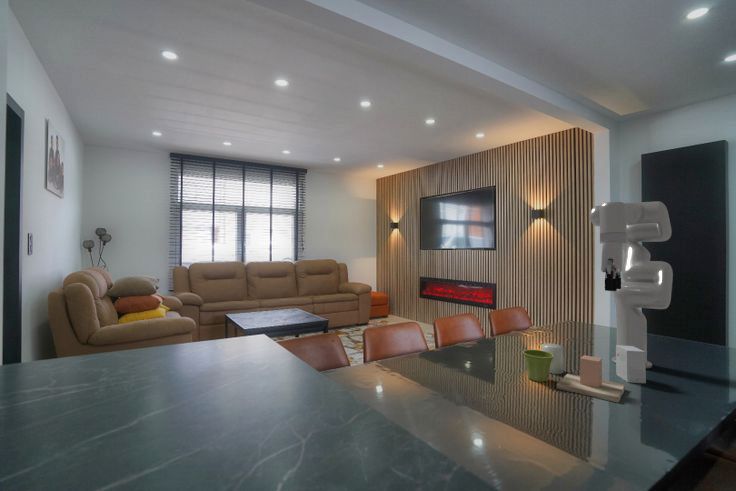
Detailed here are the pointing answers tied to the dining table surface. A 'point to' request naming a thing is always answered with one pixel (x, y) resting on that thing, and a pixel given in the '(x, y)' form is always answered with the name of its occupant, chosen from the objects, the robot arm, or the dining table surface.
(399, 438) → the dining table surface
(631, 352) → the small box
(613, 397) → the board
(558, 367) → the pale rounded smooth block
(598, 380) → the block
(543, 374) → the plant pot
